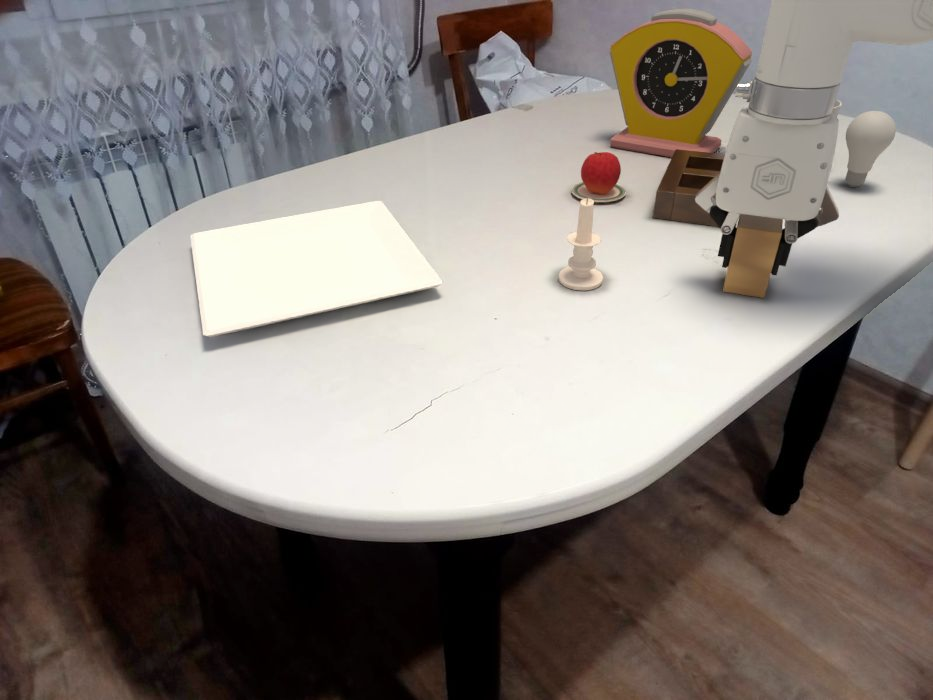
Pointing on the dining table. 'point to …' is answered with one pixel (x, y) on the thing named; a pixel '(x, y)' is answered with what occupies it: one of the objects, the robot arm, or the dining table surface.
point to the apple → (600, 178)
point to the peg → (753, 255)
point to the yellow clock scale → (676, 81)
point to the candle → (582, 253)
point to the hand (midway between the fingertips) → (749, 264)
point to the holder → (686, 186)
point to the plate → (304, 266)
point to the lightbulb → (867, 143)
